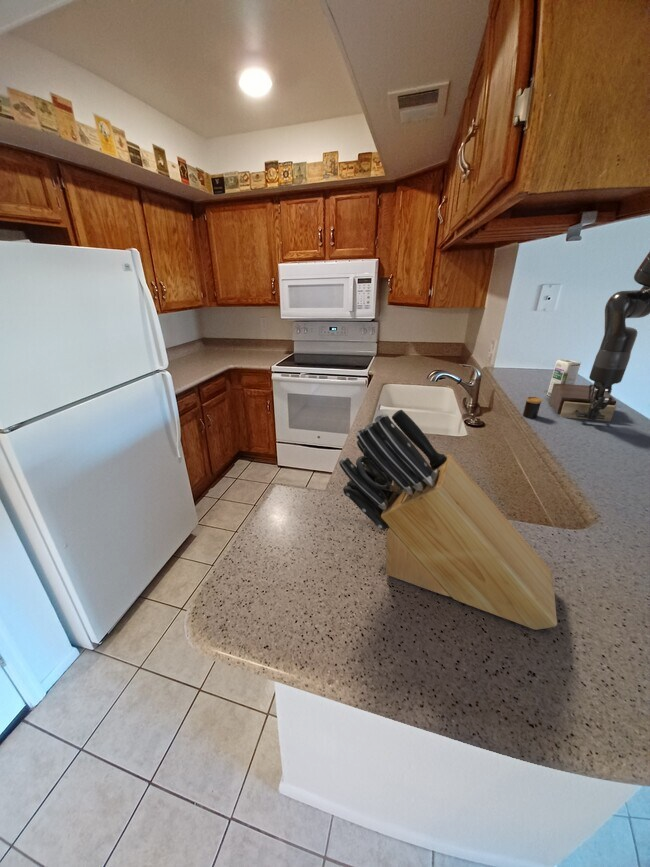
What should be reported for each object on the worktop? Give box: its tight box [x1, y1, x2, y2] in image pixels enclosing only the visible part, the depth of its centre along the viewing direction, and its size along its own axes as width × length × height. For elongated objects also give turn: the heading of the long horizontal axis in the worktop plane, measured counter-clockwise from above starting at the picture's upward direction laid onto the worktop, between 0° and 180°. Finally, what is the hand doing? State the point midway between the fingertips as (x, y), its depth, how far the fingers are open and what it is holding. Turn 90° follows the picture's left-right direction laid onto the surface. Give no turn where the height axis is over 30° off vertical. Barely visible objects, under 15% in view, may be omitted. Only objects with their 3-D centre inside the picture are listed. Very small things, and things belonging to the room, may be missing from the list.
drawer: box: [559, 400, 617, 422], centre depth 111 cm, size 18×14×6 cm
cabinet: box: [548, 383, 617, 415], centre depth 115 cm, size 15×15×8 cm
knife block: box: [338, 409, 558, 631], centre depth 54 cm, size 11×35×31 cm, turn 62°
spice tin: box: [522, 396, 543, 420], centre depth 111 cm, size 4×4×8 cm
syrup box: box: [546, 358, 582, 397], centre depth 127 cm, size 6×6×14 cm
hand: (590, 418), depth 103 cm, fingers closed
